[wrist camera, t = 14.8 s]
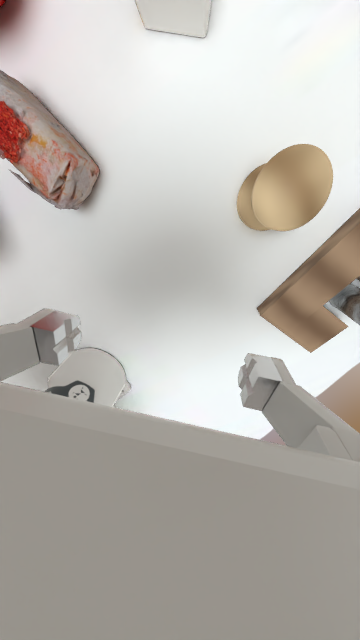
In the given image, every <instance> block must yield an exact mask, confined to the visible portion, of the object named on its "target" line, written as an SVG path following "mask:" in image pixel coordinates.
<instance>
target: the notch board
mask: <svg viewBox="0 0 360 640" xmlns="http://www.w3.org/2000/svg"><path fill="white" fill-rule="evenodd" d="M356 278H357V279H358V280H359V281H360V209H359V210H358V211H357V212H356V213H355V214H354V215H353V216H352V217H351V218H350V219H348V220H347V221H346V222H345V223H344V224H343V225H342V226H341V227H340V228H339V229H338V230H337V231H336V232H335V233H334V234H333V235H332V236H331V237H330V238H329V239H328V240H327V241H326V242H325V243H324V244H323V245H322V246H321V247H320V248H319V249H318V250H316V251H315V252H314V253H313V254H312V255H311V256H310V257H309V258H308V259H307V260H306V261H305V262H304V263H303V264H302V265H301V266H300V267H299V268H298V269H297V270H296V271H295V272H294V273H293V274H292V275H291V276H290V277H289V278H288V279H287V280H286V281H285V282H283V283H282V284H281V285H280V286H279V287H278V288H277V289H276V290H275V291H274V292H273V293H272V294H271V295H270V296H269V297H268V298H267V299H266V300H265V301H264V302H263V303H262V304H261V305H260V306H259V307H258V308H257V310H258V312H259V314H260V316H261V317H263V318H264V319H266V320H267V321H268V322H270V323H271V324H272V325H274V326H275V327H276V328H278V329H279V330H280V331H282V332H283V333H285V334H286V335H287V336H289V337H290V338H291V339H293V340H294V341H295V342H297V343H298V344H299V345H301V346H302V347H304V348H305V349H306V350H308V351H309V352H310V353H311V352H313V351H314V350H316V349H317V348H319V347H320V346H321V345H323V344H324V343H326V342H327V341H329V340H330V339H331V338H333V337H334V336H336V335H337V334H339V333H340V332H341V331H343V330H344V329H346V328H347V327H348V326H347V325H346V324H345V323H343V322H342V321H341V320H340V319H339V318H337V317H336V316H335V315H334V314H332V313H331V312H330V311H329V310H327V309H326V308H325V307H324V306H323V305H324V304H325V303H327V302H328V301H329V300H330V299H331V298H333V297H334V296H335V295H336V294H338V293H339V292H340V291H341V290H343V289H344V288H345V287H346V286H348V285H349V284H350V283H351V282H353V281H354V280H355V279H356Z"/></svg>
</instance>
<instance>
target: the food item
mask: <svg viewBox="0 0 360 640" xmlns="http://www.w3.org/2000/svg"><path fill="white" fill-rule="evenodd" d="M1 155H2V156H1ZM0 157H1V158H2V159H4V158H7V160H8V161H10V162H11V163H12V164H13V165H14V166H15V167H16V168H17V169H18V170H19V171H20V172H21V173H22V174H23V175H24V176H25V177H26V178H27V179H28V180H29V182H30V184H29V183H28V182H26V181H24V180H23V179H22V178H21V177H20V175H18V174H16V173H14V172H12V171H11V170H10V171H11V172H12V173H13V174H14V175H15V176H16V177H17V178H18V179H19V180H20V181H21V182H22V183H23V184H24V185H26V186H27V187H28V188H29V189H30V190H31V191H33V192H35V193H37V194H38V195H40V196H41V197H42V198H44V199H45V200H46V201H48V202H49V203H51V204H53V205H55V207H56V208H59V209H75V210H77V209H79V206H80V205H81V204H82V203H83V202H84V200H85V199H86V198H87V197H88V196H89V194H90V193H91V191H92V187H93V185H94V183H95V182H96V180H97V177H98V175H99V172H100V170H99V169H98V166H97V165H96V164H95V163H94V161H93V160H92V159H91V157H90V156H89V155H88V154H87V152H86V151H85V150H84V149H83V148H82V147H81V146H80V144H79V143H78V142H77V141H76V140H75V139H74V138H73V137H72V135H71V134H70V133H69V132H68V131H67V130H66V129H65V128H64V127H63V126H62V125H61V124H60V123H59V122H58V121H57V120H56V119H55V117H54V116H53V115H52V114H51V113H50V112H49V111H48V110H47V109H46V108H45V107H44V106H43V105H42V104H41V103H40V101H39V100H38V99H37V98H36V97H35V96H34V95H33V94H32V93H31V92H30V91H29V90H28V89H27V88H26V87H25V86H24V85H22V84H21V83H20V82H19V81H17V80H16V79H14V78H12V77H10V76H8V75H7V74H6V73H4V72H3V71H1V70H0Z"/></svg>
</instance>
